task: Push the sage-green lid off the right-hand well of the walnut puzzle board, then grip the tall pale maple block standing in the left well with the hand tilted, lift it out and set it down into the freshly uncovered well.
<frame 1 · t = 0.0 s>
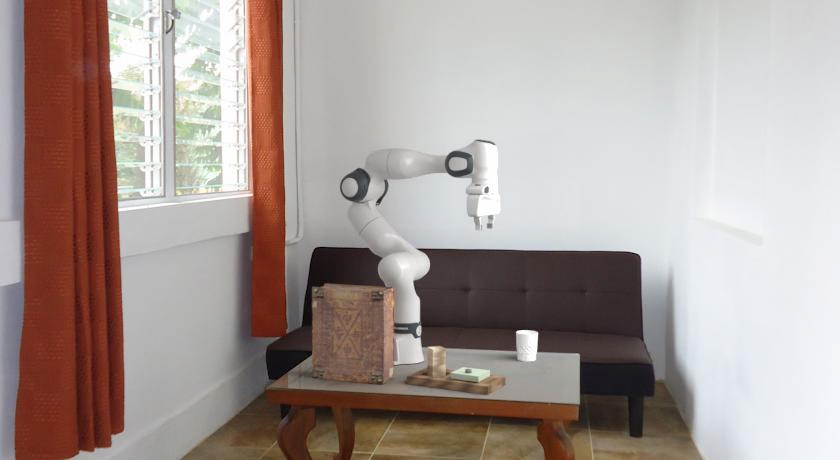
hand: (484, 229, 288), 48 cm above the table, tool pointing down, fingers open, 8 cm apart
maple block: (436, 381, 275), resting in puzzle board
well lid: (470, 372, 269), point 4 cm above the table, slide at 0.0 cm
book: (353, 378, 279), on the table
white cup: (526, 360, 307), on the table
puzzle board: (456, 384, 272), on the table
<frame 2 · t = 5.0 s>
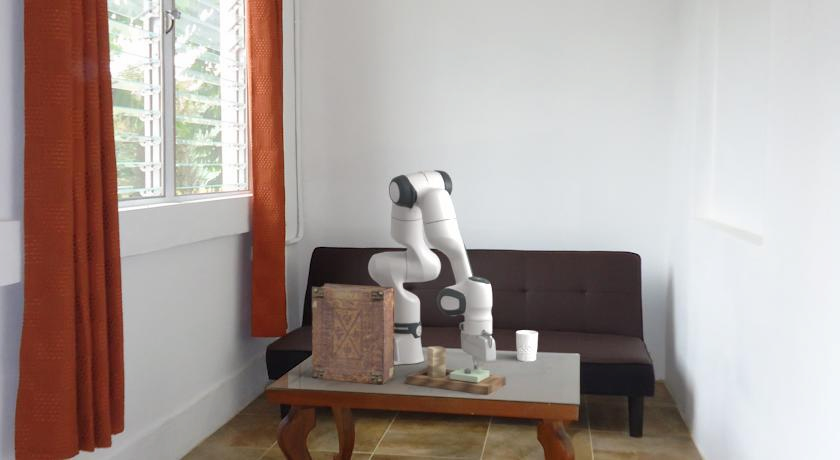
hand: (478, 370, 274), 4 cm above the table, tool pointing down, fingers closed
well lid: (469, 373, 268), point 4 cm above the table, slide at 0.7 cm, touching gripper
everything else where it was.
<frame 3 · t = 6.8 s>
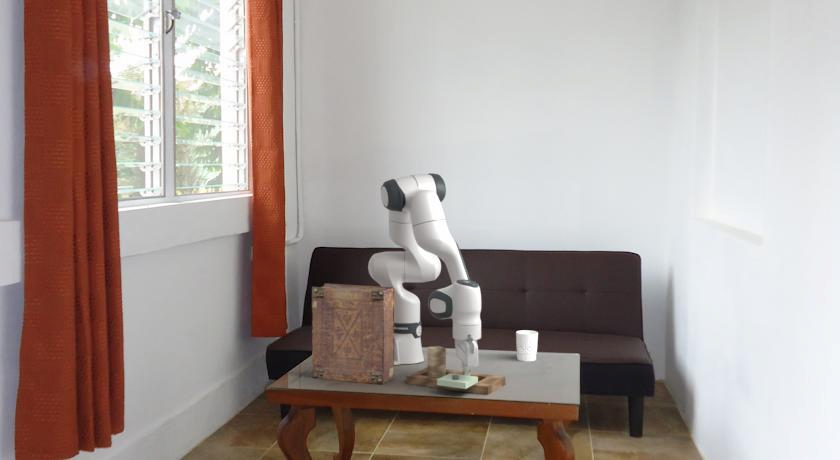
hand: (466, 376, 266), 4 cm above the table, tool pointing down, fingers closed
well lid: (457, 379, 261), point 4 cm above the table, slide at 9.4 cm, touching gripper
everything else where it was.
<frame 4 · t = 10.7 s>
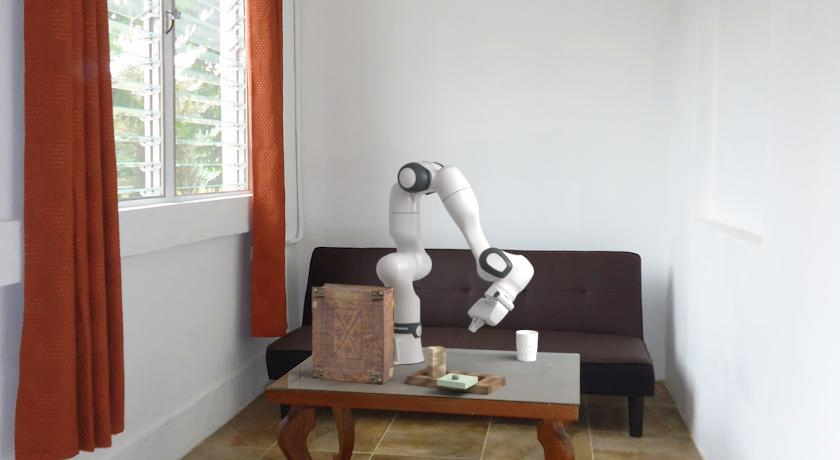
hand: (470, 330, 278), 16 cm above the table, tool tilted 45°, fingers closed
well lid: (457, 379, 261), point 4 cm above the table, slide at 9.5 cm
everything else where it was.
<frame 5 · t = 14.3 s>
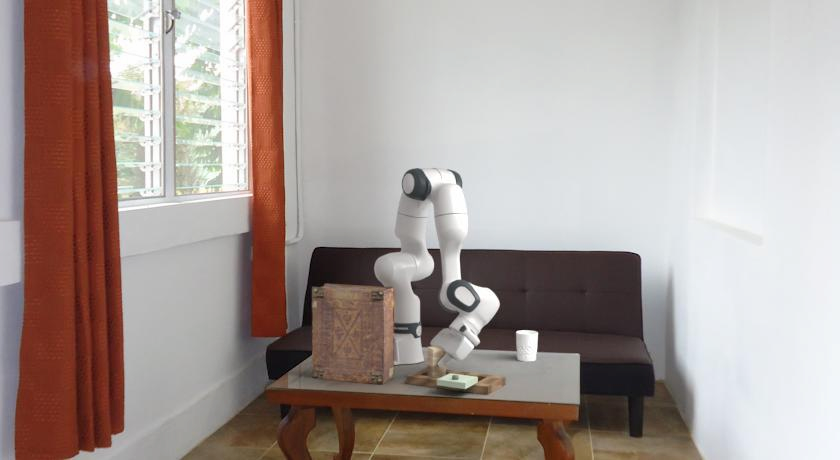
hand: (434, 363, 274), 6 cm above the table, tool tilted 45°, fingers closed on maple block, 4 cm apart
maple block: (436, 381, 275), resting in puzzle board, touching gripper
everything else where it was.
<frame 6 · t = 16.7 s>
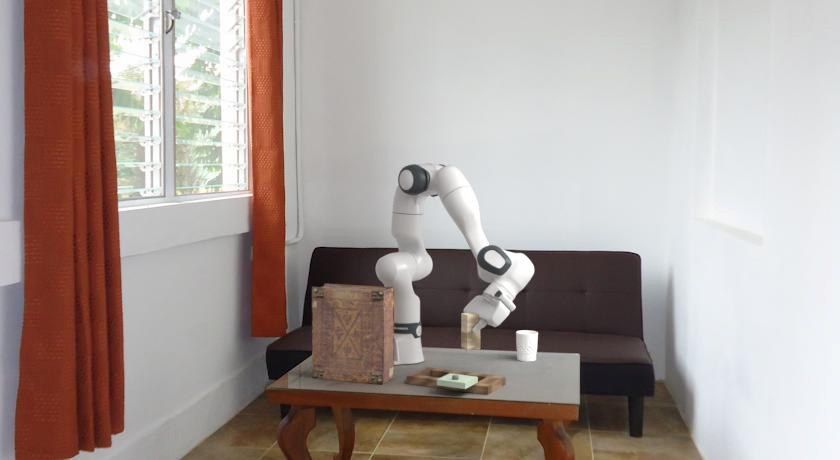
hand: (469, 330, 268), 18 cm above the table, tool tilted 45°, fingers closed on maple block, 4 cm apart
maple block: (470, 348, 268), point 12 cm above the table, touching gripper
everything else where it was.
when the fingers open (8 cm above the table, at t = 18.9 s): maple block drops 2 cm, resting in puzzle board.
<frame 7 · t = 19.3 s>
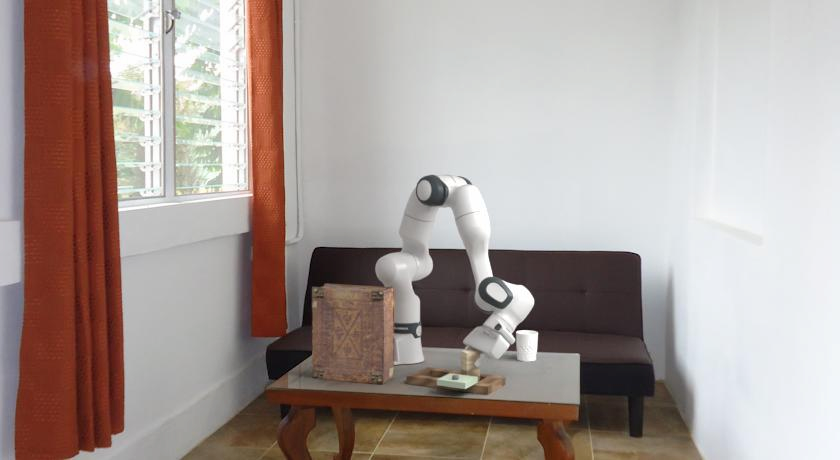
hand: (468, 362, 269), 8 cm above the table, tool tilted 45°, fingers open, 8 cm apart
maple block: (470, 386, 269), resting in puzzle board
everything else where it was.
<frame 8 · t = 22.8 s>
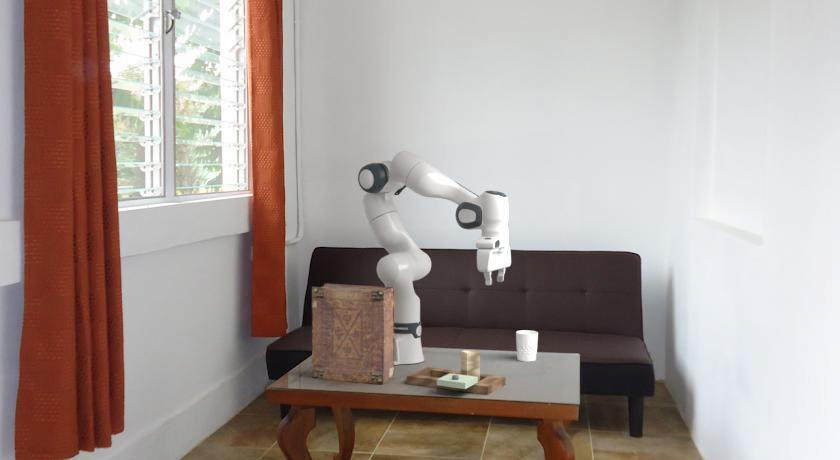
hand: (494, 283, 278), 31 cm above the table, tool pointing down, fingers open, 8 cm apart
nothing on the table moved.
at the end: maple block 0.1 cm from the target spot on the puzzle board, point 0.0 cm above the puzzle board's base; maple block tilted 0°; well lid slide at 9.5 cm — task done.
